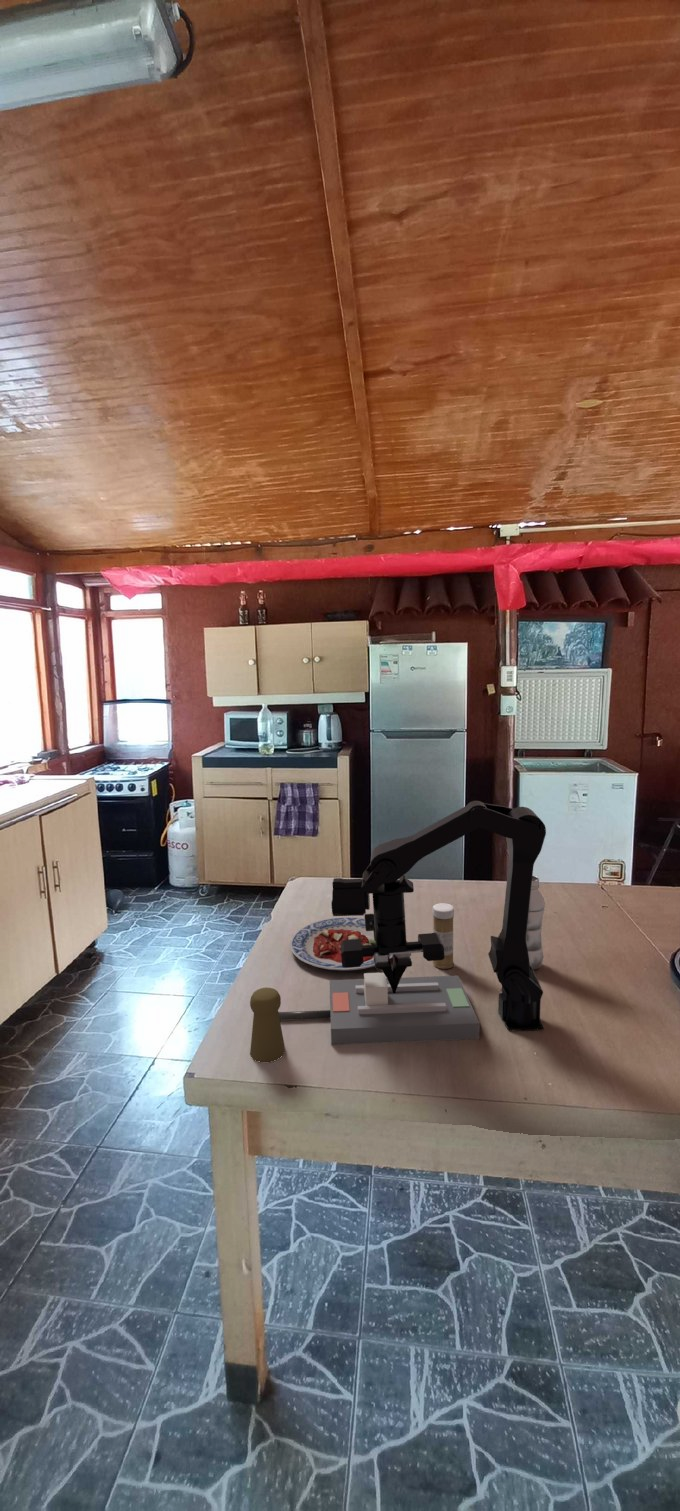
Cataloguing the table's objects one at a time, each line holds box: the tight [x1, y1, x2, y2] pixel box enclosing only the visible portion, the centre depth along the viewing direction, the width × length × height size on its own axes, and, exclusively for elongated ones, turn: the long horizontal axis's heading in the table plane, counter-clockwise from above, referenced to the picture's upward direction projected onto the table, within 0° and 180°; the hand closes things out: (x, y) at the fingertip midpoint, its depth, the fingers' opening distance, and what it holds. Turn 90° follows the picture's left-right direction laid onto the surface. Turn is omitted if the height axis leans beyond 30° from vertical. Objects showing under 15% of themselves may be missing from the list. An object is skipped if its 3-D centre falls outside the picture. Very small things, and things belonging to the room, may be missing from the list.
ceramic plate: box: [289, 917, 393, 971], centre depth 137 cm, size 26×26×3 cm
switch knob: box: [363, 972, 388, 1006], centre depth 110 cm, size 4×5×4 cm
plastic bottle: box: [526, 875, 546, 971], centre depth 126 cm, size 6×7×20 cm
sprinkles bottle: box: [432, 902, 455, 970], centre depth 128 cm, size 5×5×14 cm
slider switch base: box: [278, 975, 480, 1046], centre depth 110 cm, size 36×16×4 cm, turn 92°
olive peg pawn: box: [249, 987, 286, 1063], centre depth 100 cm, size 6×6×11 cm
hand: (393, 992), depth 110 cm, fingers closed
